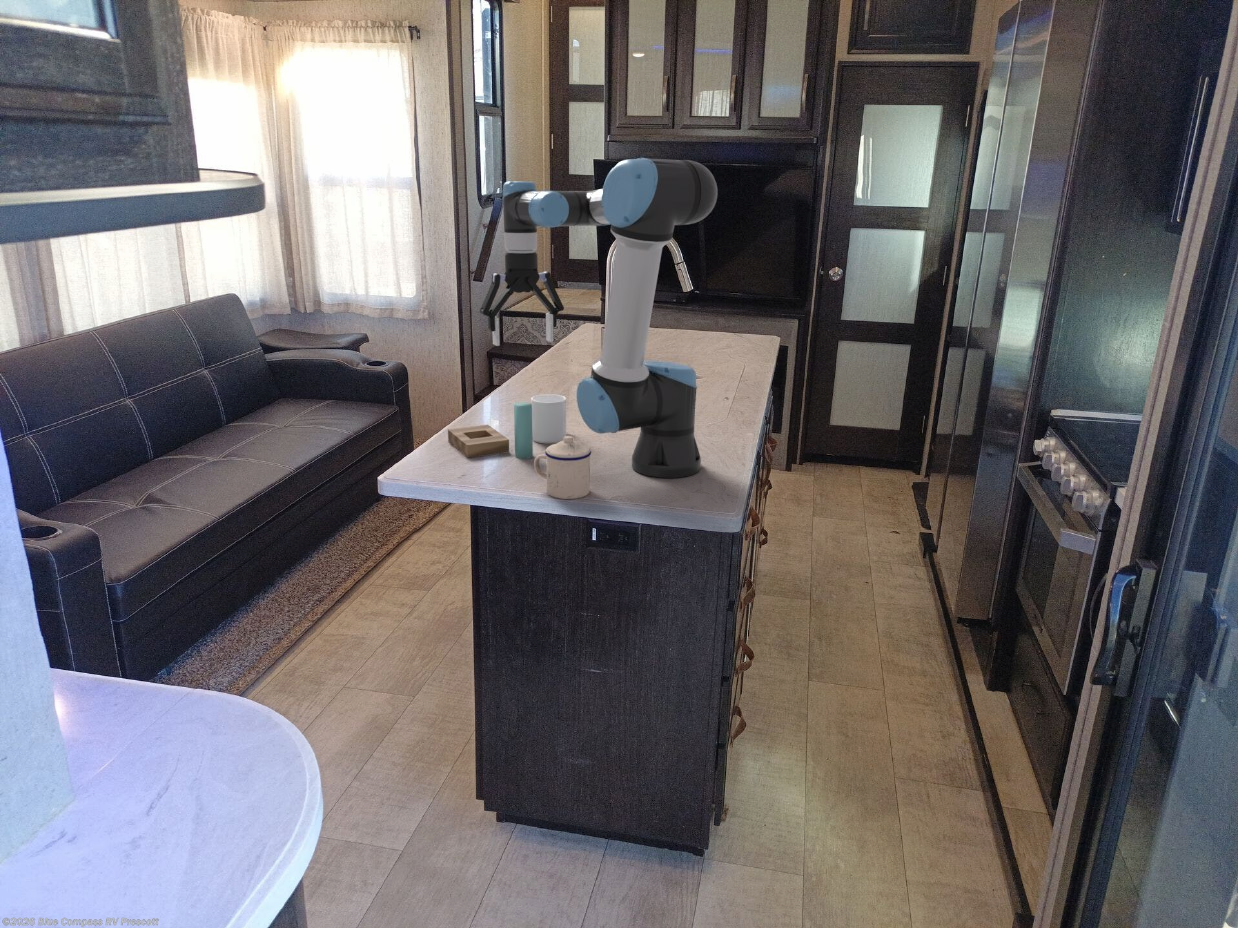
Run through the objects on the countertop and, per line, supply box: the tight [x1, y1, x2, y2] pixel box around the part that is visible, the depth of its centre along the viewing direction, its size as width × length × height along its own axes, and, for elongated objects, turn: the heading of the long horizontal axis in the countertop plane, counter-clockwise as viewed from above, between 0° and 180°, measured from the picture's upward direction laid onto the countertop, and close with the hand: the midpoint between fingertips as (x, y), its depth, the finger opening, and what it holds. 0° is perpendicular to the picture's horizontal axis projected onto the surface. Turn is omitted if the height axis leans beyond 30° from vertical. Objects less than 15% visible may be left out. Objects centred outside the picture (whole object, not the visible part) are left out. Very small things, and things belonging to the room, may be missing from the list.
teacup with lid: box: [533, 435, 592, 500], centre depth 175 cm, size 12×9×12 cm
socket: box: [447, 424, 510, 459], centre depth 204 cm, size 14×10×3 cm
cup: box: [530, 393, 567, 445], centre depth 212 cm, size 8×12×10 cm
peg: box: [513, 401, 534, 460], centre depth 197 cm, size 4×4×12 cm
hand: (523, 343), depth 208 cm, fingers open, 13 cm apart
